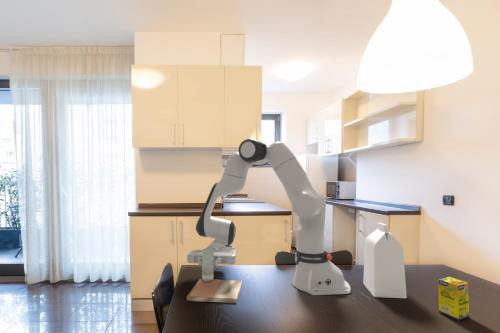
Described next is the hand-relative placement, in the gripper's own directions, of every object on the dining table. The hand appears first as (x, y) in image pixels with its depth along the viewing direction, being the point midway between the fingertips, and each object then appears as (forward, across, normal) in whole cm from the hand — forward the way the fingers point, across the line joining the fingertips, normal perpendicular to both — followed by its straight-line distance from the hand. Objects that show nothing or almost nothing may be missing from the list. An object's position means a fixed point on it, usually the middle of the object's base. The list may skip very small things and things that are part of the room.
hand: (207, 263), depth 101 cm
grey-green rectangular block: (-1, 0, +7) cm, 7 cm away
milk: (-9, +68, +11) cm, 70 cm away
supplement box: (+8, +84, +11) cm, 85 cm away
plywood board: (-1, +4, +11) cm, 12 cm away
